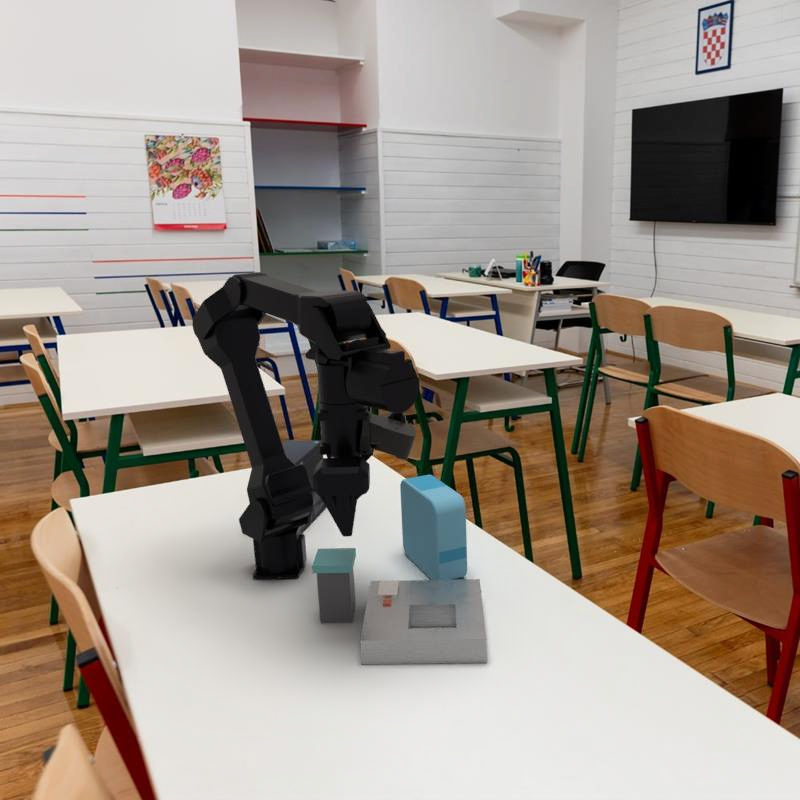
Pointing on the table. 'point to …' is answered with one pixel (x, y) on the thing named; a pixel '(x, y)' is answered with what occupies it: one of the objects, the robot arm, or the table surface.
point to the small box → (309, 458)
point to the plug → (335, 584)
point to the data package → (434, 527)
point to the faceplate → (424, 622)
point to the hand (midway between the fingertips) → (349, 520)
